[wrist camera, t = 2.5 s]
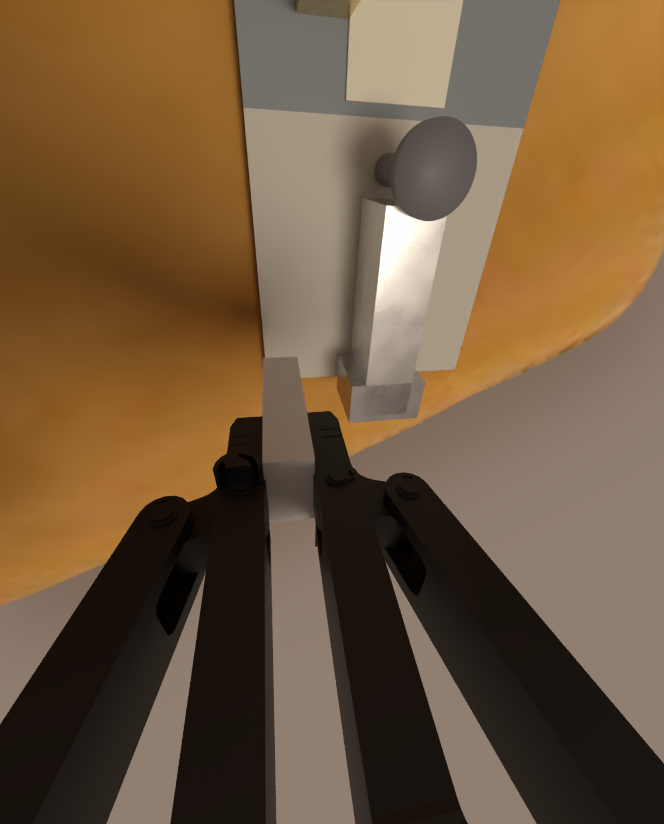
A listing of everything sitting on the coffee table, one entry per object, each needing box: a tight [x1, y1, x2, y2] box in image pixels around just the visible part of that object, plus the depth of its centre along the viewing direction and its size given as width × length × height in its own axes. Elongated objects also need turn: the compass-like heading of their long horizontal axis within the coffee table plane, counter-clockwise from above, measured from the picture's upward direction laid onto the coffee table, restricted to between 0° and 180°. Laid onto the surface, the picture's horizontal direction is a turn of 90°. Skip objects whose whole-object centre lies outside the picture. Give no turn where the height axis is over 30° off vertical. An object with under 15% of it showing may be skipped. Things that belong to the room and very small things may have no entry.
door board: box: [234, 0, 560, 378], centre depth 15 cm, size 14×26×7 cm, turn 178°
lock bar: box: [337, 198, 447, 423], centre depth 19 cm, size 11×4×4 cm, turn 178°
